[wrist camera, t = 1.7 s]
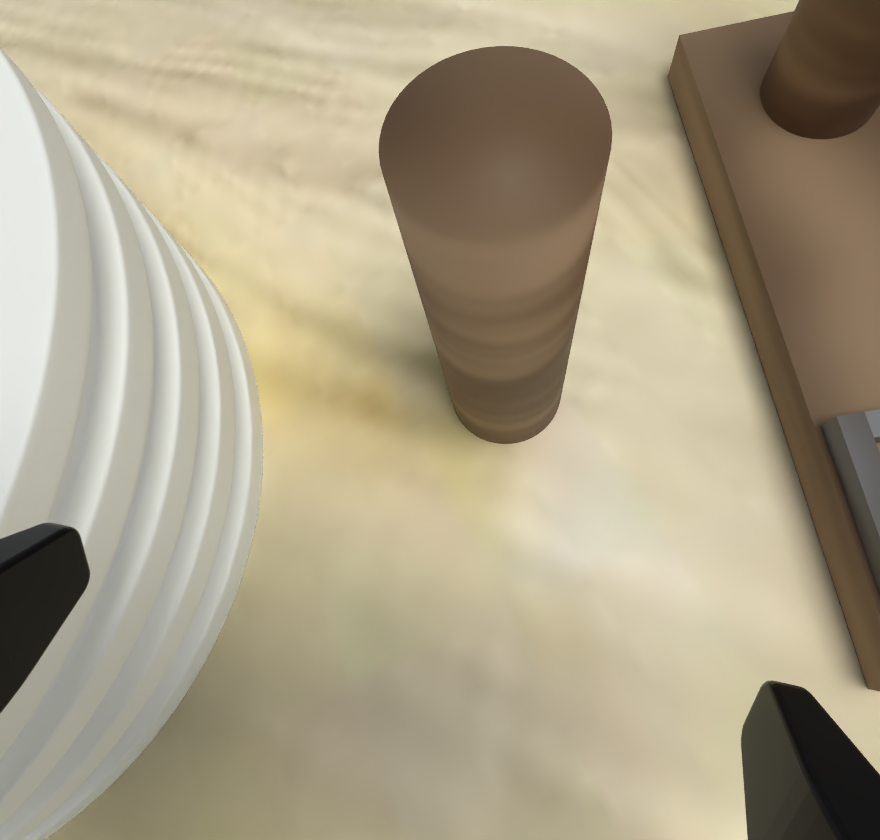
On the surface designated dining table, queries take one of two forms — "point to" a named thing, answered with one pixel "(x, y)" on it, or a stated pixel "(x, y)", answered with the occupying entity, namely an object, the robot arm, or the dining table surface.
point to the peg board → (805, 252)
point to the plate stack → (111, 457)
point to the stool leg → (499, 223)
